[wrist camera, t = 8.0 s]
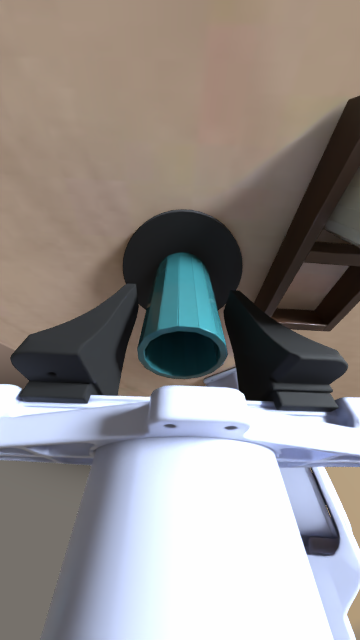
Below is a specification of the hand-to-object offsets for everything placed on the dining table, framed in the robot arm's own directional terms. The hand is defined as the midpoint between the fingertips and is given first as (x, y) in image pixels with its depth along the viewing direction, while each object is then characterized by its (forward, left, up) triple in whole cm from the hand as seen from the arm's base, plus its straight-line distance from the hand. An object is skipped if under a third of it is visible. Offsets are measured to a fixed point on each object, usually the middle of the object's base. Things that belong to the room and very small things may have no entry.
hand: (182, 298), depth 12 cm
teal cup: (0, 0, -3) cm, 3 cm away
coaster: (0, 0, -3) cm, 3 cm away
